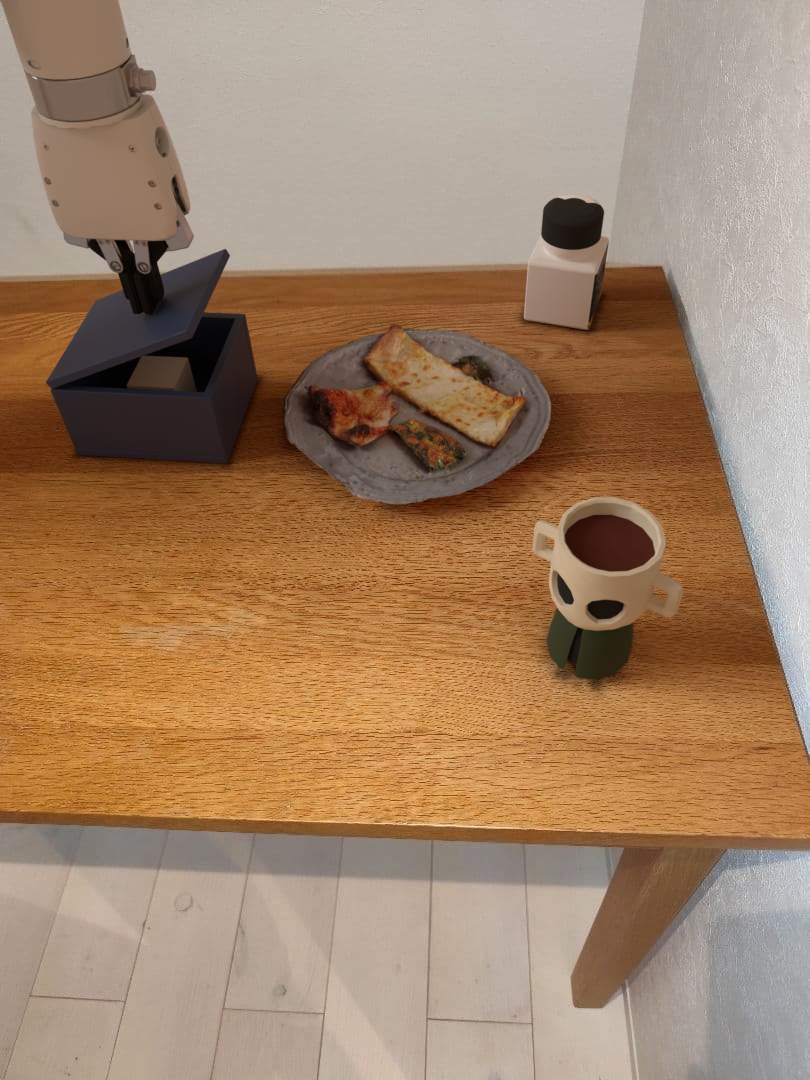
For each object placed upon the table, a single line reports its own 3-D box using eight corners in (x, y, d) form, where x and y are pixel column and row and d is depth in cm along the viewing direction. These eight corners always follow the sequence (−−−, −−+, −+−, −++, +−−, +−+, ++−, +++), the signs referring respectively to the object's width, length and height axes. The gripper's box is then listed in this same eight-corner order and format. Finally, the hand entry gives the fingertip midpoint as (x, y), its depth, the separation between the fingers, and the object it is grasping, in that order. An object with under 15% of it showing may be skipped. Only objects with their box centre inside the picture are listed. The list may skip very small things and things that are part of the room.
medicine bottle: (588, 331, 94) (603, 226, 85) (522, 321, 96) (530, 216, 87) (601, 295, 99) (616, 191, 90) (537, 285, 101) (547, 183, 92)
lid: (230, 255, 81) (225, 247, 80) (192, 338, 72) (186, 330, 72) (100, 307, 87) (95, 300, 86) (51, 389, 78) (45, 382, 78)
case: (258, 378, 91) (245, 313, 85) (227, 464, 83) (210, 398, 77) (121, 372, 93) (99, 307, 87) (77, 455, 84) (49, 389, 78)
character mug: (501, 648, 68) (510, 534, 58) (547, 587, 72) (562, 470, 62) (633, 718, 64) (666, 608, 54) (674, 649, 67) (712, 534, 58)
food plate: (241, 414, 87) (235, 385, 85) (419, 318, 97) (418, 290, 94) (409, 556, 74) (407, 528, 72) (595, 429, 84) (599, 400, 81)
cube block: (138, 423, 86) (126, 385, 82) (153, 393, 89) (141, 355, 85) (185, 425, 85) (174, 387, 82) (198, 395, 88) (188, 357, 85)
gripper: (199, 67, 66) (241, 285, 80) (9, 65, 68) (82, 278, 81) (170, 110, 61) (220, 334, 75) (-35, 107, 63) (51, 327, 76)
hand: (148, 305), depth 78 cm, fingers closed
